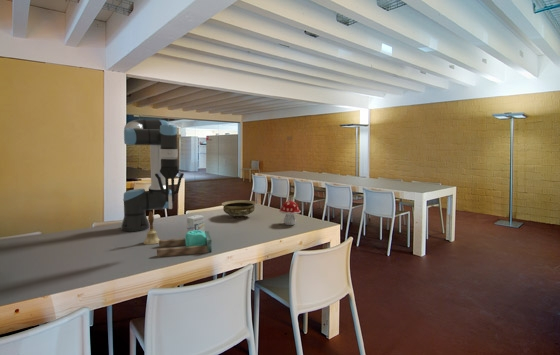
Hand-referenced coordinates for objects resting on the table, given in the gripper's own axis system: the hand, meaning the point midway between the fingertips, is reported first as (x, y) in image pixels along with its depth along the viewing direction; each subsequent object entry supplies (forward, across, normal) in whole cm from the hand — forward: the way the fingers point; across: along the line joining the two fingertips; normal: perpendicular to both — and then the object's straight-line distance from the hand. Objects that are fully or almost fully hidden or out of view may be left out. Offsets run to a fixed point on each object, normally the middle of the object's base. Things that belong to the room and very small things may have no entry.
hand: (170, 208), depth 151 cm
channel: (+20, +6, -1) cm, 21 cm away
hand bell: (+21, -10, +15) cm, 28 cm away
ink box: (+21, +12, +17) cm, 30 cm away
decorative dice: (+21, +11, -1) cm, 23 cm away
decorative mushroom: (+21, +71, +33) cm, 81 cm away
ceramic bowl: (+21, +43, +61) cm, 78 cm away
